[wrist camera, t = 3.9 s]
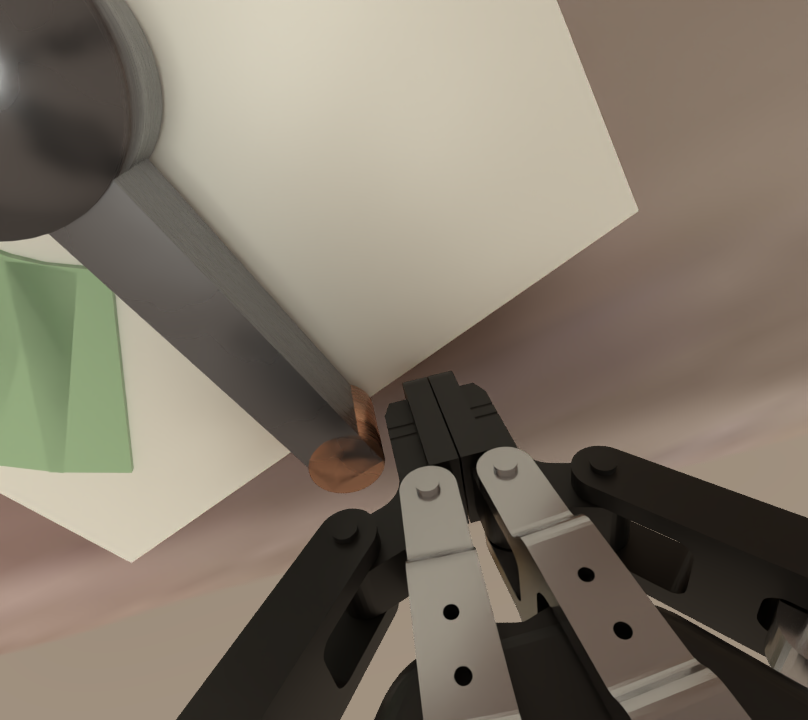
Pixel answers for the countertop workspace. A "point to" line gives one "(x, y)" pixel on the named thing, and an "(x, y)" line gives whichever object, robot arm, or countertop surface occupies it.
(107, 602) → the countertop surface
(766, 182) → the countertop surface
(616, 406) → the countertop surface
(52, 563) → the countertop surface
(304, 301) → the dial plate
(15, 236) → the metal serving spoon
